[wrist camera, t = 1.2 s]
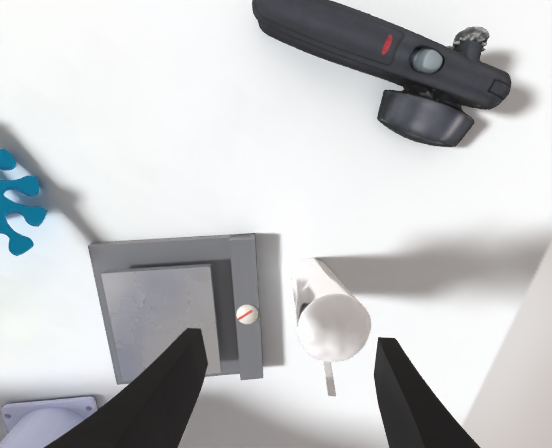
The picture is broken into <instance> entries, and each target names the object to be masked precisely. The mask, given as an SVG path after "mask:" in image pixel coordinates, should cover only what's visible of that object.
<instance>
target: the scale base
mask: <svg viewBox="0 0 552 448" xmlns="http://www.w3.org/2000/svg"><path fill="white" fill-rule="evenodd" d="M88 249H89V253H90V258H91V263H92V268H93V272H94V277H95V282H96V287H97V291H98V296H99V301H100V306H101V311H102V315H103V320H104V325H105V330H106V334H107V339H108V344H109V349H110V353H111V358H112V363H113V368H114V373H115V377H116V382H117V384H128V383H131V382H132V381H125V382H123V379H122V375H121V370H120V365H119V360H118V355H117V350H116V345H115V340H114V335H113V330H112V325H111V320H110V315H109V311H108V306H107V301H106V296H105V291H104V286H103V281H102V276H101V273H103V272H104V271H105V270H120V269H136V268H151V267H167V266H182V265H198V264H211V266H212V276H213V286H214V296H215V306H216V316H217V326H218V336H219V346H220V356H221V366H222V369H221V373H215V374H205V377H207V376H218V375H229V374H240V377H241V380H248V379H259V378H263V362H262V346H261V329H260V312H259V295H258V278H257V261H256V245H255V233H251V234H234V235H217V236H200V237H183V238H166V239H149V240H132V241H115V242H98V243H92V244H90V245H89V246H88Z"/></svg>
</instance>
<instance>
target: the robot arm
mask: <svg viewBox="0 0 552 448" xmlns="http://www.w3.org/2000/svg"><path fill="white" fill-rule="evenodd" d="M207 366H208V360H207V355H206V351H205V346H204V341H203V336H202V331H201V329H200V328H187V329H186V330H185V331H184V332H183V333H182V334H181V335H180V336H179V337H178V338H177V339H176V340H175V341H174V342H173V343H172V344H171V345H170V346H169V347H168V348H167V349H166V350H165V351H164V352H163V353H162V354H161V355H160V356H159V357H158V358H157V359H156V360H155V361H153V362H152V363H151V364H150V365H149V366H148V367H147V368H146V369H145V370H144V371H143V372H142V373H141V374H140V375H139V376H138V377H136V378H135V379H134V380H133V381H132V382H131V383H130V384H129V385H128V386H127V387H125V388H124V389H123V390H122V391H121V392H120V393H118V394H117V395H116V396H115V397H114V398H112V399H111V400H110V401H109V402H107V403H106V404H105V405H104V406H102V407H101V408H100V409H97V405H96V401H95V399H94V398H93V397H78V398H67V399H56V400H45V401H34V402H23V403H12V404H6V405H4V406H3V407H2V408H1V414H2V417H3V420H4V423H5V426H6V428H7V431H8V434H7V435H6V436H5V438H4V439H3V440H2V441H1V442H0V448H177V447H178V445H179V442H180V440H181V437H182V435H183V433H184V430H185V428H186V425H187V423H188V420H189V418H190V415H191V413H192V411H193V408H194V406H195V403H196V401H197V398H198V396H199V393H200V391H201V388H202V384H203V381H204V377H205V374H206V370H207ZM374 379H375V386H376V393H377V399H378V405H379V409H380V413H381V416H382V420H383V424H384V428H385V432H386V436H387V440H388V444H389V448H480V447H479V446H478V445H477V443H476V442H474V440H473V439H472V438H471V437H470V436H469V435H468V434H467V432H466V431H465V430H464V429H463V428H462V427H461V426H460V425H459V423H458V422H457V421H456V420H455V419H454V418H453V416H452V415H451V414H450V413H449V412H448V410H447V409H446V408H445V407H444V405H443V404H442V403H441V402H440V400H439V399H438V398H437V397H436V395H435V394H434V393H433V391H432V390H431V389H430V387H429V386H428V385H427V384H426V382H425V381H424V380H423V378H422V377H421V375H420V374H419V373H418V371H417V370H416V368H415V367H414V366H413V364H412V363H411V361H410V360H409V358H408V357H407V355H406V354H405V352H404V351H403V349H402V348H401V346H400V344H399V343H398V341H397V340H396V339H395V338H381V337H378V344H377V352H376V360H375V369H374ZM89 406H90V407H89Z"/></svg>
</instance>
